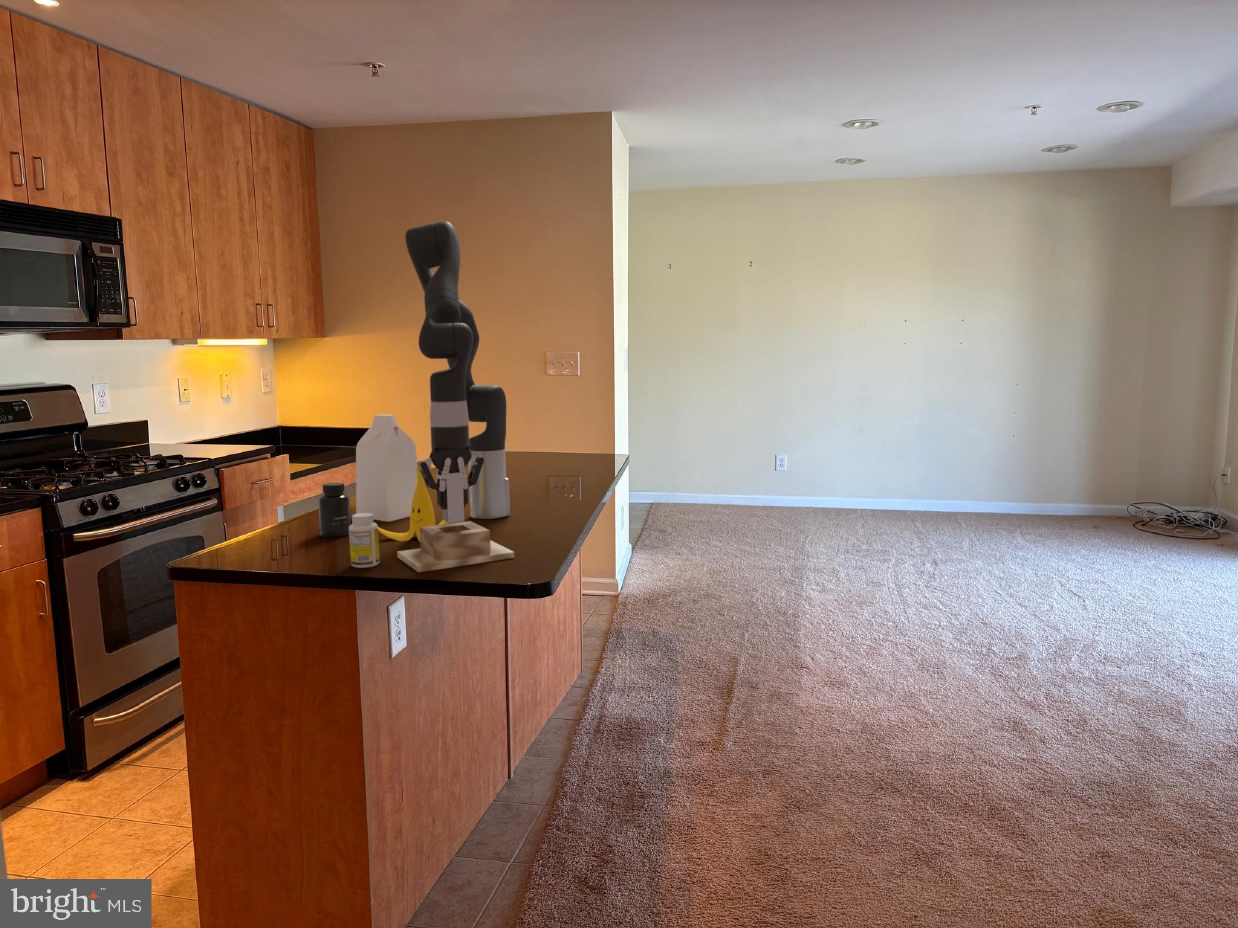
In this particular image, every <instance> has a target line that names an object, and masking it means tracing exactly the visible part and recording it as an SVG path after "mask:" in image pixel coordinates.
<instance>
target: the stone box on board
mask: <svg viewBox="0 0 1238 928" xmlns="http://www.w3.org/2000/svg"><path fill="white" fill-rule="evenodd" d="M419 543H420V548H413V549H406V550H399V551H398V550H397V552H396V553H397V554H396V555H397V558H398V559H399V560H401V561H402V562H404V563H405V564H406V565H408V566H409V567H410V568H412V569H413V570H415V571H416V572H417V573H423V572H428V571H435V570H437V571H438V570H442V569H449V568H454V567H455V568H456V567H461V566H467V565H475V564H476V565H477V564H482V563H487V562H488V563H489V562H496V561H503V560H508V559H514V558H515V551H513V550H511V549H509V548H507V547H505V546H503V545H501V544H499V543H497V542H495V541H493V540H492V539H491V530H490V529H487V527H484V526H482V525H479V524H477V523H475V522H473V521H471V520H468V521H460V522H452V523H449V524H443V525H438V524H436V525H434V526H426V527H420V542H419Z"/></svg>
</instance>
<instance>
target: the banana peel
mask: <svg viewBox="0 0 1238 928" xmlns="http://www.w3.org/2000/svg"><path fill="white" fill-rule="evenodd" d="M416 471H417V487H416V490H415V493H414V496H413V500H412V505H411V511H410V517H409V529H408V531H406V532H393V531H389V530H386V529H383V528H381V527H379V526H378V533H380V534H382V535H383V536H385V537H387V538H389V539H391V540H394V541H398V542H408V541H410V540H411V539H412V538H413V537H414V535H416V537H417V541H418V542H419V543H420V527H426V526H434V525H443V524H450V523H448V522H446V521H444V520H443V519H442V520H441V521H440V523H438V524H436V517H435V515H436V514H435V510H434V507H433V502H432V499H431V497H430V494H429V492H428V489H427V485H426V483H425V480H424V478H423V476H422V474H421V472H420V470H419V467H418V466H417V467H416Z"/></svg>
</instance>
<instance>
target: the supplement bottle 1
mask: <svg viewBox="0 0 1238 928" xmlns="http://www.w3.org/2000/svg"><path fill="white" fill-rule="evenodd" d="M345 491H346V489H345V483H343V482H328V483H322V490H321V492H322V493H323V495H321V496H320V497H319V499H318V515H319V516H318V518H319V520H318V521H319V534H320V536H321V537H323V538H331V539H332V538H342V537H346V536H349V526H350V525H352V523H351V503H350V501H351V500H350V497H349V496H348V495H347V494H345Z"/></svg>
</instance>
